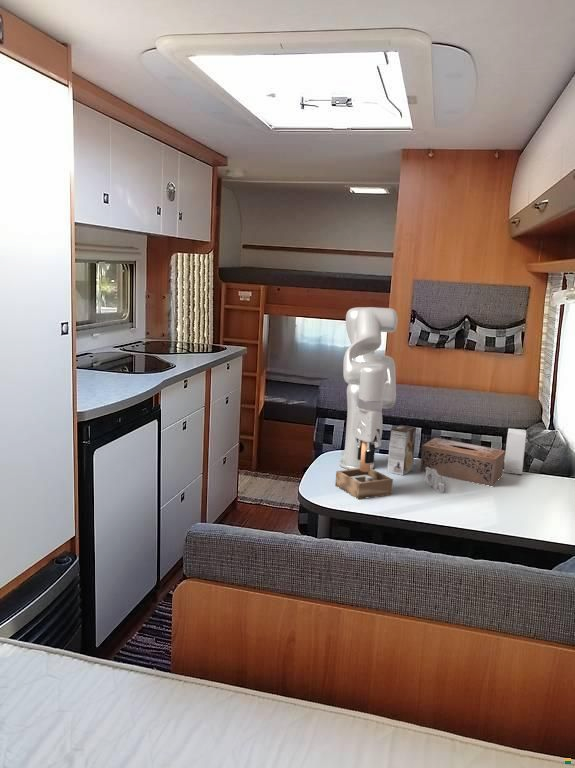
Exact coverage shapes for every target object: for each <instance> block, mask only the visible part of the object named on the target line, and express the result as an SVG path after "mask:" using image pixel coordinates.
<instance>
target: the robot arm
mask: <svg viewBox="0 0 575 768" xmlns="http://www.w3.org/2000/svg"><path fill="white" fill-rule="evenodd" d="M398 320H399V319H398V314H397V312H396V310H395V309H393V308H390V307H374V306H369V307H368V306H367V307H366V306H365V307H364V306H362V307H360V306H358V307H352V308H349V310H347V312H346V315H345V328H346V329H345V330H346V333H347V336H348V339H349V343H350V345H349V346H348V347H347V349H346V350H345V353H344V355H343V363H342V364H343V365H342V366H343V367H342V368H343V371H342V372H343V373H342V375H343V379H344V382H345V383H347V387H346V402H347V403H346V405H347V413H346V416H347V417H346V426H345V427H346V428H345V429H346V431H345V441H344V442H345V443H344V450H341V451H340V454H341V455H343V458H341V459H339V466H341V467H342V468H344V469H345V470H351V469H359V468H360V461H361V448H362V441H364V442H367V451H366V452H365V463H366V464H367V463H370V468H371V469H373V468H374V467H375V463H374V462H375V455H376V453H375V452H376V451H377V449H378V448H379V447H381V446H382V442H381V440H382V438H383V437H382V435H383V411H382V410H383V409H391V408H393V407H394V406H395V404H396V401H397V384H396V383H397V381H396V363H395V360H394V358H393V357H391V356H389V355H383V354H375V351H377V350H378V349H379V348H380V346H381V345H382V333H394V332H395V331H396V330H397V327H398V323H399V321H398ZM371 444H372V445H371ZM373 470H374V469H373Z"/></svg>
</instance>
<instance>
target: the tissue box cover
mask: <svg viewBox="0 0 575 768" xmlns="http://www.w3.org/2000/svg"><path fill="white" fill-rule="evenodd" d="M421 446H422V448H421V455H420V457H421V458H420V468H419V471H420V472H423V473H426V469H425V468H426V467H429V468H430V469H435V470H436V471H437V473H438V474H439V475H440V476H441V477H446V478H450V479H454V480H459V481H463V482H467V481H469V482H468V483H472V482H474V483H473V484H477V483H479V484H478V485H481V484H485V485H484V486H486V485H489V486H488V487H490V486H493V485H494V484H495V483H496V482H497V483H498V482H499V480H500V479H501V478H502V477H503V471H504V464H505V452H506V450H503V449H497V448H494V447H488V446H482V445H477V444H471V443H467V442H466V443H465V442H462V441H461V442H460V441H457V440H456V441H455V440H451V439H450V440H449V439H445V438H440V437H434V438H432V439H431V440H429V441H427V442H424V443H423V444H422V445H421ZM501 476H502V477H501ZM500 477H501V478H500ZM499 478H500V479H499ZM498 479H499V480H498ZM497 483H496V484H497ZM496 484H495V485H496ZM495 485H494V486H495ZM494 486H493V487H494Z"/></svg>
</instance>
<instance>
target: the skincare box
mask: <svg viewBox="0 0 575 768" xmlns="http://www.w3.org/2000/svg"><path fill="white" fill-rule="evenodd" d="M526 441H527V430H526V429H520V428H518V429H517V428H508V429H507V436H506V445H505V456H504V464H503V471H504V473H505V472H506V474H510V473H516V474H515V475H517V474H522V475H523V471H524V470H523V468H524V458H525V452H526V450H525V449H526Z"/></svg>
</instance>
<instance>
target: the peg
mask: <svg viewBox="0 0 575 768" xmlns="http://www.w3.org/2000/svg"><path fill="white" fill-rule="evenodd" d="M372 444H373V443H372ZM372 444H371V445H372ZM366 451H367V442H364V441H362V448H361V461H360V471H363V472H369V471H370V463H367V464H366V463H365V452H366Z"/></svg>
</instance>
